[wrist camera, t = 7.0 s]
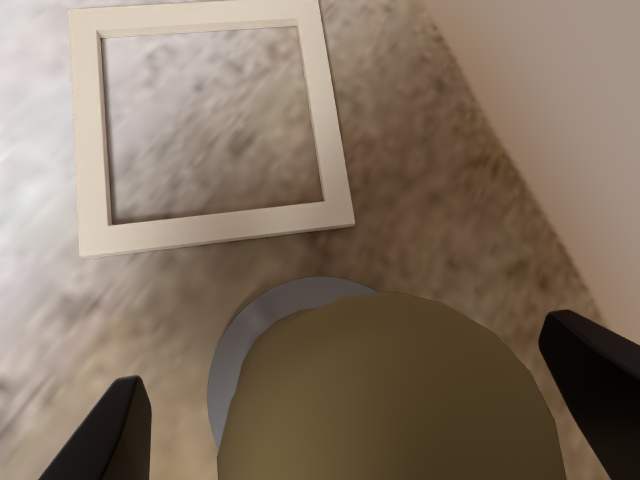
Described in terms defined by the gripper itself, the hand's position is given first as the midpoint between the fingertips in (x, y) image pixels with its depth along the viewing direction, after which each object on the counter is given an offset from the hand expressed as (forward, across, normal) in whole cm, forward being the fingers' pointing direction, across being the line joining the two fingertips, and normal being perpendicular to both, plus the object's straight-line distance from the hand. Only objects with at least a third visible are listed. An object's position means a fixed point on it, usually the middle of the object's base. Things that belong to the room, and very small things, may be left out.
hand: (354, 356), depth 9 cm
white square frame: (+12, +3, -1) cm, 13 cm away
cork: (+4, 0, +7) cm, 8 cm away
